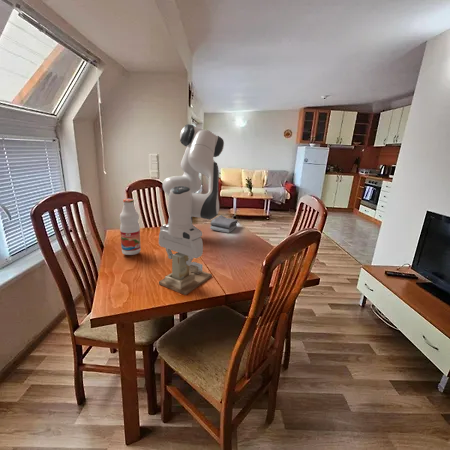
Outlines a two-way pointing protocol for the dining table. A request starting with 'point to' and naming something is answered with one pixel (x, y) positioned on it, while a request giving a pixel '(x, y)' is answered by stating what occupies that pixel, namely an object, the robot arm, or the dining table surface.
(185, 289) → the base
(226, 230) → the towel
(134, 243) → the fruit juice
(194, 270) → the block
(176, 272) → the skincare box
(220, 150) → the robot arm
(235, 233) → the dining table surface
